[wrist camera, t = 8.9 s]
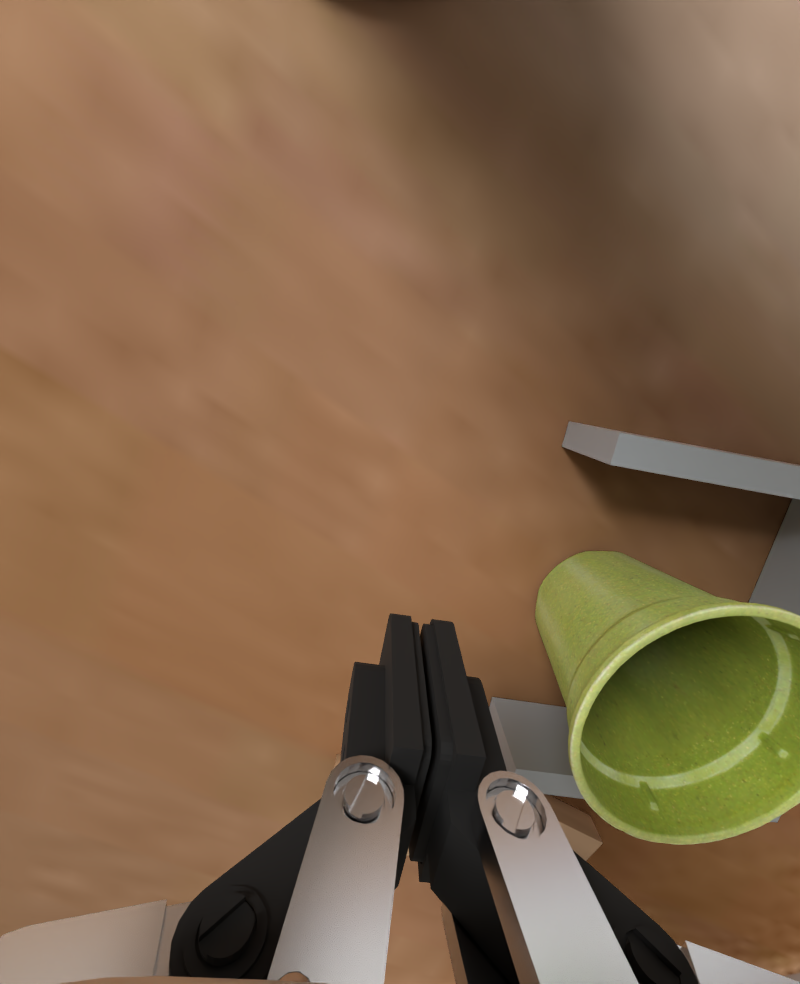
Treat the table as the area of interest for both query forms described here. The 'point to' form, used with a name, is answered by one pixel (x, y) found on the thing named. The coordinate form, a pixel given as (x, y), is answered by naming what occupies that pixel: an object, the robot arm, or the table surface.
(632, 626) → the plant pot
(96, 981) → the robot arm
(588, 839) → the tile
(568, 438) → the u-shaped fence
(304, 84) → the table surface
